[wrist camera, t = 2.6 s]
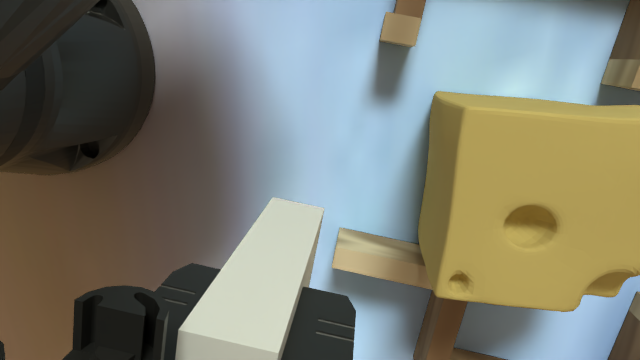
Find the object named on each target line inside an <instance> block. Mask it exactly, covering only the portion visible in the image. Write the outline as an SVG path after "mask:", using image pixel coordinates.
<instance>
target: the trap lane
mask: <svg viewBox="0 0 640 360" xmlns="http://www.w3.org/2000/svg"><path fill="white" fill-rule="evenodd" d="M425 2H426V0H396V4H395V8H394V13H390V12H386V14H385V17H384V22H383V26H382V31H381V36H380V40H379V41H380V42H385V43H391V44H396V45H401V46H406V47H413V46H415V45H416V41H417V36H418V32H419V28H420V23H421V19H422V15H423V11H424V6H425ZM601 84H605V85H610V86H615V87H621V88H626V89H631V90H636V91H640V0H630V2H629V5H628V7H627V10H626V13H625V16H624V19H623V22H622V25H621V27H620V30H619V33H618V36H617V39H616V42H615V45H614V47H613V50H612V53H611V56H610V59H609V62H608V64H607V67H606V70H605V73H604V76H603V79H602V82H601ZM332 268H335V269H340V270H344V271H349V272H354V273H358V274H363V275H367V276H372V277H376V278H381V279H385V280H390V281H394V282H399V283H403V284H408V285H413V286H417V287H422V288H426V289H431V290H432V292H431V295H430V299H429V302H428V306H427V309H426V313H425V316H424V320H423V323H422V327H421V330H420V334H419V337H418V341H417V344H416V348H415V351H414V355H413V359H414V360H506V359H502V358H497V357H493V356H489V355H484V354H480V353H475V352H471V351H467V350H462V349H458V348H453V347H454V344H455V341H456V337H457V334H458V331H459V328H460V325H461V321H462V318H463V315H464V312H465V308H466V305H467V302H468V301H461V300H453V299H445V298H440V297H437V296H435V294H434V291H433V289H432V287H431V284H430V282H429V279H428V275H427V271H426V265H425V262H424V259H423V256H422V252H421V249H420V245H419V244H414V243H410V242H405V241H400V240H396V239H391V238H387V237H382V236H377V235H373V234H368V233H363V232H359V231H354V230H349V229H345V228H340V229H339V233H338V238H337V243H336V248H335V253H334V258H333V264H332ZM608 360H640V292H638V291H637V292H636V295H635V297H634V299H633V302H632V304H631V306H630V309H629V311H628V314H627V316H626V318H625V321H624V323H623V325H622V328H621V330H620V332H619V335H618V337H617V339H616V342H615V344H614V346H613V349H612V351H611V353H610V356H609V358H608Z"/></svg>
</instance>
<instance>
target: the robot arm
mask: <svg viewBox="0 0 640 360" xmlns="http://www.w3.org/2000/svg"><path fill="white" fill-rule="evenodd" d="M154 81H155V66H154V57H153V51H152V46H151V42H150V39H149V35H148V32H147V29H146V27H145V24H144V22H143V20H142V18H141V15H140V14H139V12H138V10H137V8H136V6H135V5H134V3H133V1H132V0H0V172H11V173H24V174H37V175H59V174H66V173H72V172H76V171H79V170H83V169H85V168H88V167H90V166H93V165H95V164H98V163H101V162H103V161H105V160H107V159H109V158H111V157H112V156H114V155H116V154H117V153H118V152H120V151H121V150H122V149H123V148H125V147H126V146H127V145H128V144H129V143H130V142H131V141H132V139H133V138H134V137H135V136H136V134H137V133H138V131H139V130H140V128H141V126H142V125H143V123H144V121H145V119H146V116H147V114H148V111H149V108H150V105H151V101H152V97H153V91H154ZM323 213H324V208H321V207H317V206H312V205H307V204H303V203H298V202H293V201H289V200H284V199H279V198H275V197H273V198H272V199H271V200H270V202H269V203H268V205H267V206H266V207H265V209H264V210H263V212H262V213H261V214H260V216H259V217H258V219H257V220H256V221H255V223H254V224H253V226H252V227H251V229H250V230H249V231H248V233H247V234H246V236H245V237H244V238H243V240H242V241H241V243H240V244H239V245H238V247H237V248H236V250H235V251H234V252H233V254H232V255H231V257H230V258H229V259H228V261H227V262H226V264H225V265H224V267H223V268H222V269H221V270H220V269H215V268H211V267H207V266H202V265H198V264H193V263H191V264H189V265H187V266H185V267H182V268H180V269H178V270H176V271H174V272H172V274H171V275H170V276H169V277H168V278H167V279H166V280H165V281H164V282H163V283H162V285H161V287H159V288H158V289H157V290H156V291H155V292H153V291H150V290H148V289H145V288H142V287H133V286H112V287H104V288H101V289H97V290H94V291H90V292H88V293H86V294H84V295H82V296H81V297H79V298H77V299H76V300H75V302H74V327H73V350H72V351H71V352H70V353H69V354H68V355H66V356H65V357H64V358H63V359H62V360H353V348H354V332H355V329H354V328H355V317H356V310H355V309H354V307H353V305H352V304H351V302H350V300H349V298H348V297H347V296H344V295H339V294H335V293H330V292H326V291H321V290H317V289H312V288H309V284H310V279H311V274H312V268H313V263H314V258H315V253H316V248H317V243H318V238H319V233H320V228H321V223H322V218H323ZM0 360H5V352H4V344H3V343H2V342H1V341H0Z"/></svg>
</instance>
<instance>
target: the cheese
mask: <svg viewBox="0 0 640 360" xmlns="http://www.w3.org/2000/svg"><path fill="white" fill-rule="evenodd" d="M418 238H419V244H420V249H421V252H422V256H423V259H424V262H425V265H426V271H427V275H428V279H429V282H430V284H431V287H432V289H433V291H434V294H435V296H437V297H440V298H445V299H453V300H461V301H469V302H479V303H486V304H493V305H502V306H513V307H523V308H533V309H542V310H550V311H561V312H568V311H573V310H575V309H576V308H577V307H578V306H579V305H580V301H581V298H582V295H596V296H602V297H615V296H616V295H617V294H618V292H619V290H620V288H621V286H622V284H623V283H624V282H625V281H626V280H627V279H628V278H630V277H634V276H638V275H640V105H613V106H593V105H583V104H574V103H566V102H558V101H549V100H541V99H529V98H516V97H502V96H488V95H474V94H461V93H452V92H442V91H437V92H436V93H435V94H434V96H433V101H432V106H431V113H430V125H429V150H428V162H427V173H426V180H425V187H424V194H423V200H422V206H421V212H420V218H419V224H418Z"/></svg>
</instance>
